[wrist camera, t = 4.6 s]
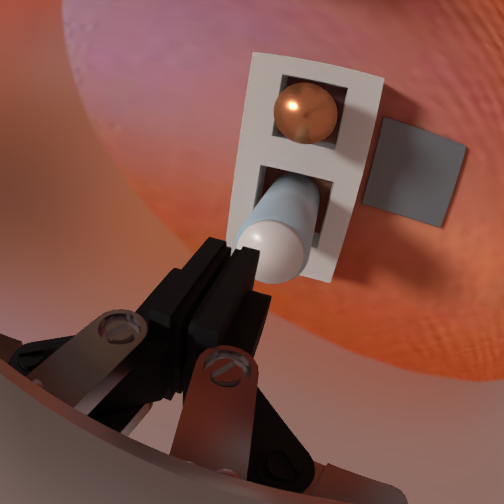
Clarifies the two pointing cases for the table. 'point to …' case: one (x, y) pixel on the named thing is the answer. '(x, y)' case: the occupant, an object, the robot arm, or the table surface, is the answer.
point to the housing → (304, 149)
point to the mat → (413, 172)
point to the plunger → (305, 113)
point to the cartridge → (282, 227)
